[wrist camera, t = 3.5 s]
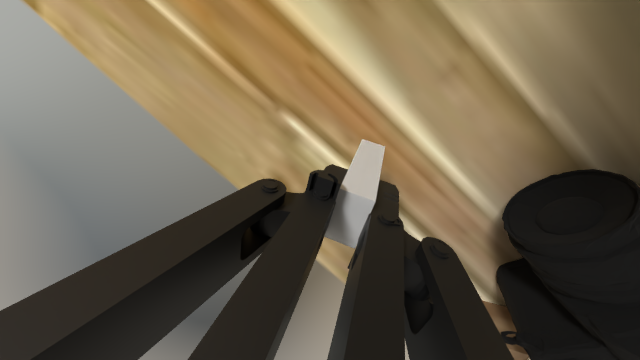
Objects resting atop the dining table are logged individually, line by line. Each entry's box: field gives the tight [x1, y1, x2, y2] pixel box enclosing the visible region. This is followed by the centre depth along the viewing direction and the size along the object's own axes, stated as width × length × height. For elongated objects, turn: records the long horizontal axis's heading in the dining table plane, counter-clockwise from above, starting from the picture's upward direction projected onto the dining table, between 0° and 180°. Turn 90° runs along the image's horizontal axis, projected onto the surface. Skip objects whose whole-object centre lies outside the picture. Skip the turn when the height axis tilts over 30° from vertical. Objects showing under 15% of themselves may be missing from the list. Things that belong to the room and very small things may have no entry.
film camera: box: [497, 169, 640, 360], centre depth 12 cm, size 15×10×9 cm, turn 136°
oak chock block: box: [482, 301, 529, 360], centre depth 21 cm, size 4×6×4 cm, turn 89°
